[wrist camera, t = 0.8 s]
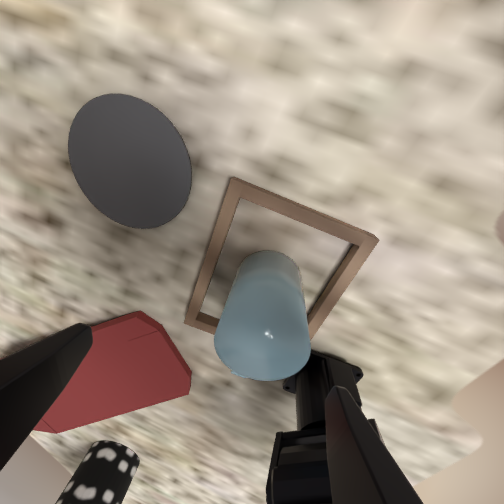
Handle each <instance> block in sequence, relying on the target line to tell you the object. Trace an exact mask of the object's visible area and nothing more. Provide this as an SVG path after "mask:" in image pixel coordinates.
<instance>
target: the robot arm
mask: <svg viewBox="0 0 504 504" xmlns="http://www.w3.org/2000/svg"><path fill="white" fill-rule="evenodd" d="M92 344H93V336H92V328H91V326H90V325H86V324H82V323H78V324H75V325H73V326H70V327H68V328H66V329H64V330H62V331H60V332H58V333H56V334H53V335H51V336H49V337H47V338H45V339H43V340H41V341H39V342H36V343H34V344H32V345H30V346H28V347H26V348H24V349H22V350H19V351H17V352H15V353H13V354H11V355H9V356H7V357H5V358H3V359H0V471H1V470H2V469H3V467H4V466H5V464H6V463H7V462H8V461H9V460H10V458H11V457H12V456H13V454H14V453H15V452H16V451H17V449H18V448H19V447H20V445H21V444H22V443H23V442H24V440H25V439H26V438H27V436H28V435H29V434H30V433H31V431H32V430H33V429H34V427H35V426H36V425H37V424H38V422H39V421H40V420H41V418H42V417H43V416H44V415H45V413H46V412H47V411H48V409H49V408H50V407H51V406H52V404H53V403H54V402H55V400H56V399H57V398H58V397H59V395H60V394H61V393H62V391H63V390H64V388H65V387H66V386H67V384H68V383H69V381H70V379H71V378H72V376H73V375H74V373H75V372H76V370H77V369H78V367H79V365H80V364H81V362H82V361H83V359H84V358H85V356H86V355H87V353H88V352H89V350H90V348H91V347H92ZM362 377H363V372H362V370H361V369H359V368H357V367H354V366H351V365H349V364H346V363H343V362H341V361H338V360H336V359H333V358H330V357H328V356H325V355H323V354H320V353H317V352H315V351H312V350H311V352H310V356H309V359H308V361H307V363H306V364H305V366H304V367H303V368H302V369H301V370H300V371H298V372H297V373H295V374H294V375H292V376H290V377H287V379H286V380H285V382H284V383H283V389H284V390H286V391H288V392H291V393H294V394H296V414H297V431H290V432H277V433H276V438H275V442H274V447H273V452H272V458H271V463H270V469H269V474H268V479H267V485H266V502H267V504H423V502H422V501H421V499H420V498H419V496H418V495H417V493H416V492H415V490H414V489H413V487H412V486H411V484H410V483H409V481H408V480H407V478H406V477H405V475H404V474H403V472H402V471H401V469H400V468H399V466H398V465H397V463H396V462H395V460H394V459H393V457H392V456H391V454H390V453H389V451H388V450H387V448H386V446H385V444H384V441H383V439H382V436H381V434H380V431H379V429H378V426H377V424H376V421H375V419H368V420H367V418H366V417H365V415H364V414H363V412H362V409H361V406H362V402H361V399H360V396H359V392H358V389H357V386H356V384H357V382H358V381H359V380H360V379H361V378H362Z"/></svg>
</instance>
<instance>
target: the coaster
mask: <svg viewBox="0 0 504 504" xmlns="http://www.w3.org/2000/svg"><path fill="white" fill-rule="evenodd" d="M68 153H69V159H70V164H71V167H72V171H73V173H74V176H75V178H76V180H77V182H78V184H79V186H80V188H81V190H82V191H83V193H84V194H85V195H86V197H87V198H88V199H89V201H90V202H91V203H92V204H93V205H94V206H95V207H96V208H97V209H98V210H99V211H100V212H102V213H103V214H104V215H106V216H107V217H109V218H110V219H112V220H114V221H116V222H118V223H120V224H122V225H125V226H128V227H133V228H141V229H145V228H154V227H158V226H161V225H163V224H165V223H167V222H169V221H170V220H171V219H173V218H174V217H175V216H176V215H177V214H178V213H179V212H180V211H181V210H182V208H183V207H184V205H185V203H186V201H187V199H188V196H189V193H190V189H191V181H192V171H191V163H190V158H189V155H188V151H187V148H186V146H185V144H184V142H183V139H182V138H181V136H180V134H179V132H178V131H177V129H176V128H175V127H174V125H173V124H172V123H171V122H170V121H169V119H168V118H167V117H166V116H165V115H164V114H163V113H161V112H160V111H159V110H158V109H157V108H155V107H154V106H152V105H151V104H149V103H147V102H145V101H143V100H141V99H138V98H135V97H133V96H129V95H124V94H107V95H102V96H99V97H96V98H94V99H92V100H91V101H89V102H88V103H86V104H85V105H84V106H83V107H82V108H81V109H80V110H79V112H78V113H77V115H76V116H75V118H74V120H73V122H72V125H71V128H70V132H69V140H68Z"/></svg>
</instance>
